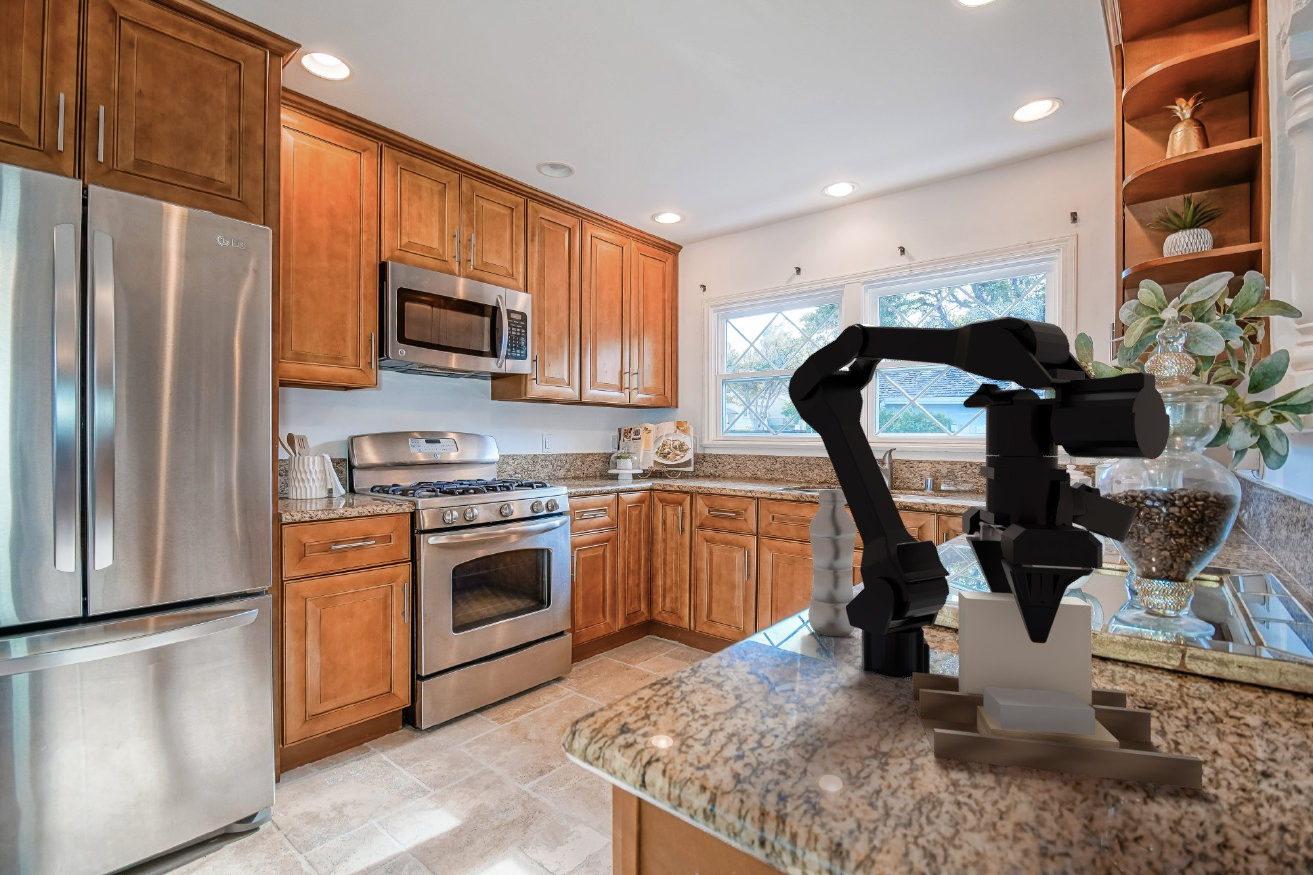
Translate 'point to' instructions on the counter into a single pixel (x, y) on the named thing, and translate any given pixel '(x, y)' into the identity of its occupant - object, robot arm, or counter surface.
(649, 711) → the counter surface
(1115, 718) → the rack
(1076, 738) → the oak offcut
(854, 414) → the robot arm
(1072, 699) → the grey offcut
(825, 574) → the plastic bottle
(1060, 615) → the panel
